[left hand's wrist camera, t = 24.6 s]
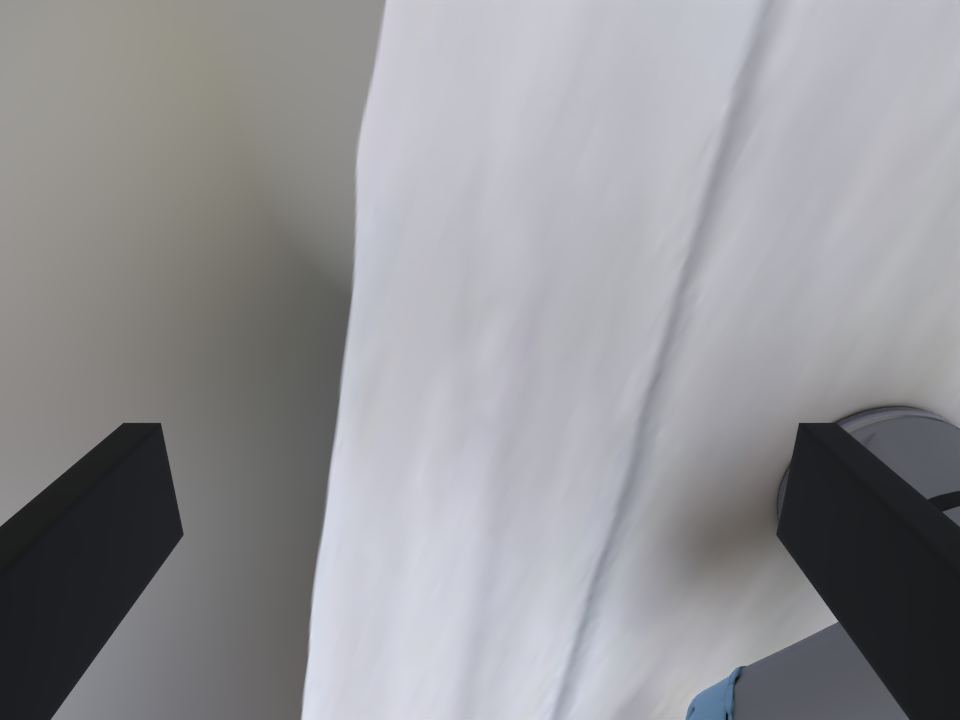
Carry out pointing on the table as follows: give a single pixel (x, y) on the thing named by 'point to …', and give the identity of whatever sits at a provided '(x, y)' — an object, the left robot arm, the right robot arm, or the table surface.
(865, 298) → the table surface
